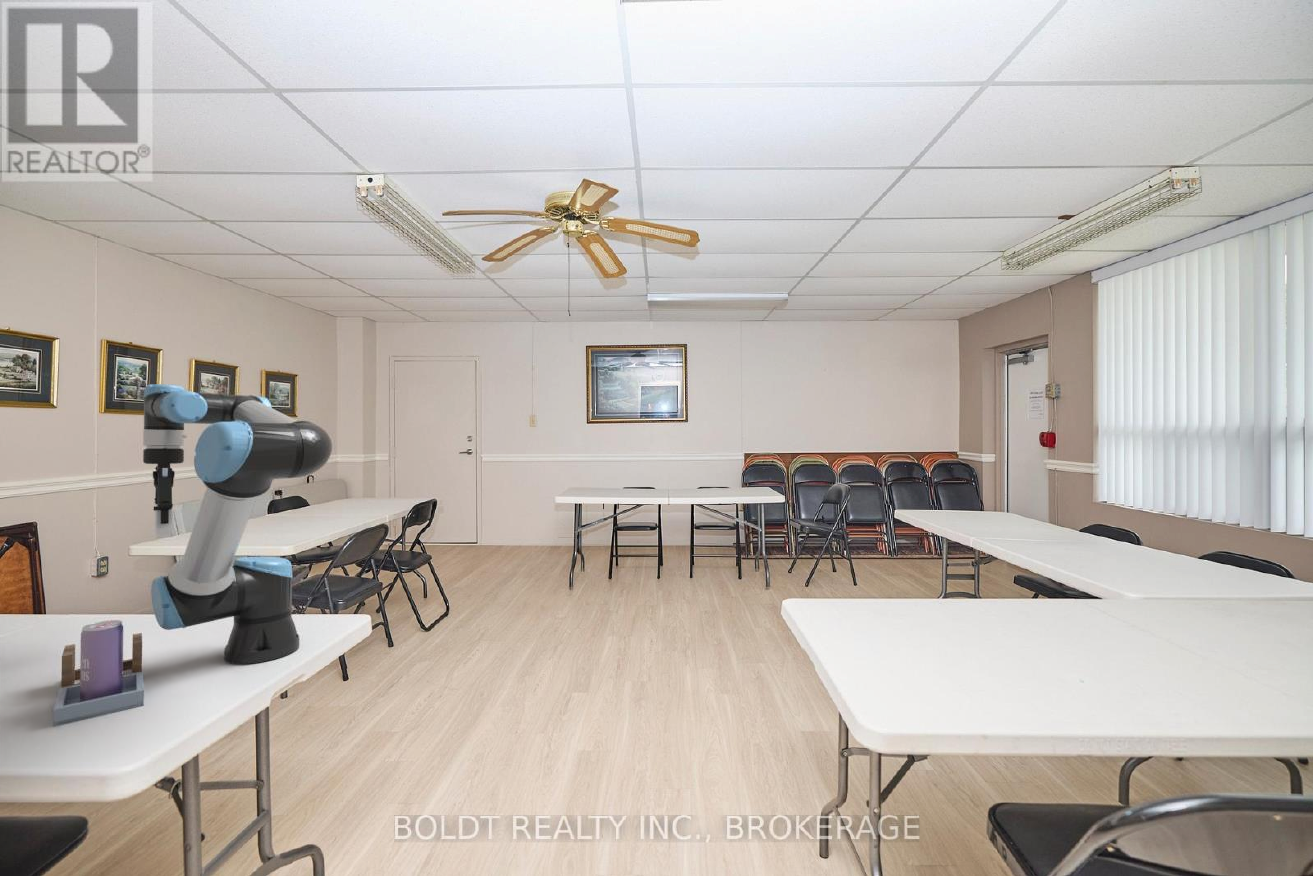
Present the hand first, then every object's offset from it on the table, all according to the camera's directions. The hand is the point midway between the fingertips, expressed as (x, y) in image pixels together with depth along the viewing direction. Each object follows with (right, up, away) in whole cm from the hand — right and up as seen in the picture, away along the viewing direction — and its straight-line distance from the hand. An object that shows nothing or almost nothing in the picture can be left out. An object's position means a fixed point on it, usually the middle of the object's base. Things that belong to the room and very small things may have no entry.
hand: (162, 533), depth 138 cm
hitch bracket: (+3, -29, -18) cm, 34 cm away
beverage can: (+13, -28, -28) cm, 42 cm away
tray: (+13, -29, -28) cm, 42 cm away
